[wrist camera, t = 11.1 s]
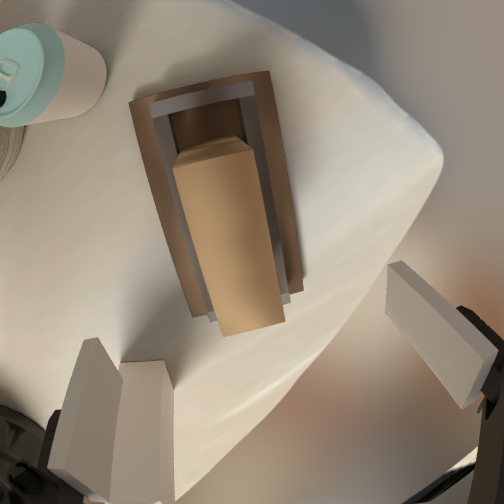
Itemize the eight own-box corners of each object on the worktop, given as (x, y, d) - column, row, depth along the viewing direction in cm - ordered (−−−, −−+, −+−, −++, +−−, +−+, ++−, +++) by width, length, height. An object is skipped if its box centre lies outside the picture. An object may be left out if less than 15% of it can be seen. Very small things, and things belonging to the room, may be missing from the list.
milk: (164, 359, 37) (162, 530, 17) (174, 390, 40) (179, 544, 20) (118, 362, 36) (95, 525, 17) (132, 392, 39) (121, 541, 19)
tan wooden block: (215, 269, 31) (223, 337, 22) (182, 147, 26) (172, 168, 17) (262, 258, 31) (288, 320, 22) (236, 134, 26) (256, 148, 17)
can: (111, 108, 24) (56, 112, 14) (45, 125, 24) (-31, 144, 13) (107, 37, 21) (53, 0, 11) (40, 57, 20) (-35, 43, 10)
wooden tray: (192, 309, 34) (192, 332, 31) (132, 102, 24) (121, 102, 21) (299, 283, 35) (310, 303, 31) (265, 72, 25) (275, 67, 22)
